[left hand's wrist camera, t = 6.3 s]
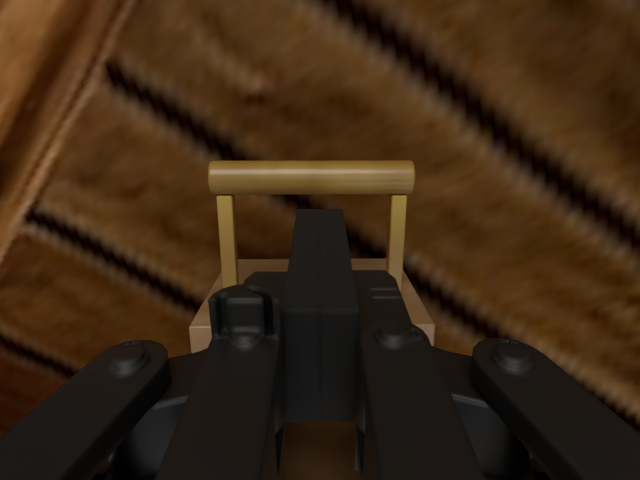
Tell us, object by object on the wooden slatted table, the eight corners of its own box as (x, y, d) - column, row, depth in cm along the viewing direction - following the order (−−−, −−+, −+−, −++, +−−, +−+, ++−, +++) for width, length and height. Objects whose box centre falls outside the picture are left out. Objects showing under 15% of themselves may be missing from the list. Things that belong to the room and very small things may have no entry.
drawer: (220, 148, 22) (172, 167, 14) (402, 148, 22) (449, 167, 14) (243, 510, 28) (219, 650, 21) (383, 507, 28) (408, 646, 21)
